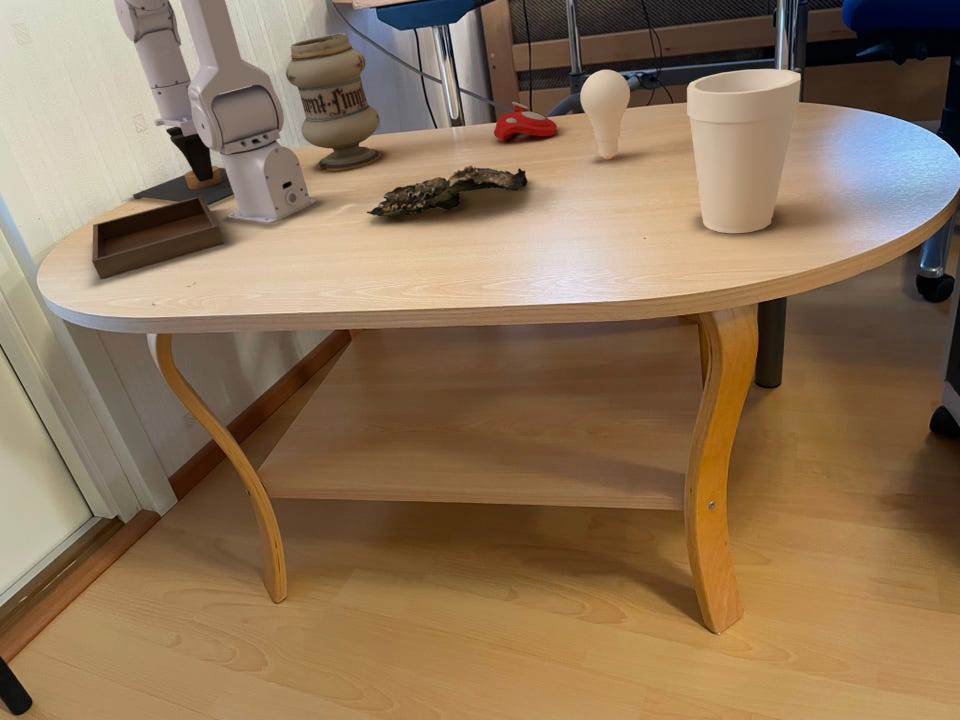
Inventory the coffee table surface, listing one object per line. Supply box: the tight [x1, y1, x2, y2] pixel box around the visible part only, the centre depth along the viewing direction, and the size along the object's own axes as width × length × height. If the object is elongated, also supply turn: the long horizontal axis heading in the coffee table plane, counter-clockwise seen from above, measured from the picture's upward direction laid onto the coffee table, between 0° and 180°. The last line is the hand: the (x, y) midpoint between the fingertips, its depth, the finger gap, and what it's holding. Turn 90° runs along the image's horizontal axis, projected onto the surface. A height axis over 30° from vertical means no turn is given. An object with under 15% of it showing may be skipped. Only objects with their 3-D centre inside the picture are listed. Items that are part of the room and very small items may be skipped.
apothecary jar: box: [285, 33, 381, 172], centre depth 106 cm, size 12×12×18 cm
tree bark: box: [366, 165, 529, 219], centre depth 85 cm, size 19×6×15 cm
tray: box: [91, 196, 225, 280], centre depth 88 cm, size 16×14×3 cm
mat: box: [132, 167, 234, 206], centre depth 110 cm, size 20×14×1 cm
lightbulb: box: [579, 69, 631, 160], centre depth 89 cm, size 6×6×11 cm
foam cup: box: [686, 68, 802, 234], centre depth 65 cm, size 10×9×13 cm
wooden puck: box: [183, 165, 222, 189], centre depth 109 cm, size 5×5×2 cm
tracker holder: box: [493, 101, 558, 142], centre depth 108 cm, size 12×4×10 cm
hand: (203, 175), depth 109 cm, fingers open, 7 cm apart
